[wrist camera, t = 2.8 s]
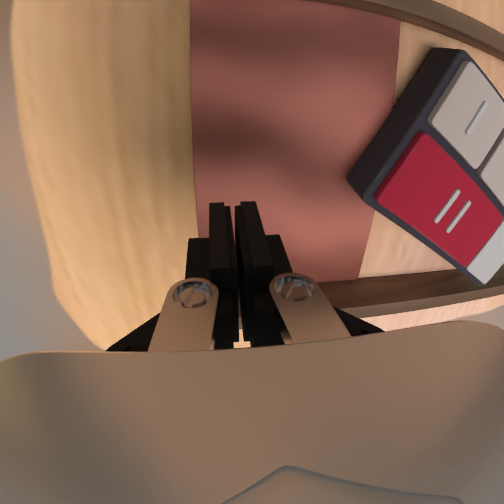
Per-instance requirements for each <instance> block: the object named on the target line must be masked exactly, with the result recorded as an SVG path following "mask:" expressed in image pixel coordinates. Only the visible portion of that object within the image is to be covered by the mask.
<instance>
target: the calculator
mask: <svg viewBox="0 0 504 504" xmlns="http://www.w3.org/2000/svg"><path fill="white" fill-rule="evenodd" d="M347 182H348V183H349V185H350V186H351V187H352V188H353V189H354V191H355V192H356V193H357V194H358V196H359V197H360V198H361V199H362V200H363V201H364V202H365V203H366V204H367V205H369V206H370V207H372V208H373V209H375V210H376V211H378V212H379V213H381V214H382V215H384V216H385V217H387V218H388V219H390V220H391V221H393V222H394V223H396V224H397V225H398V226H400V227H401V228H403V229H404V230H406V231H407V232H408V233H410V234H411V235H413V236H414V237H415V238H417V239H418V240H420V241H421V242H422V243H424V244H425V245H427V246H428V247H429V248H431V249H432V250H433V251H435V252H436V253H437V254H439V255H440V256H441V257H443V258H444V259H445V260H447V261H448V262H449V263H451V264H452V265H453V266H454V267H456V268H457V269H458V270H460V271H461V272H462V273H463V274H465V275H466V276H467V277H468V278H470V279H471V280H472V281H473V282H475V283H476V284H477V285H478V286H483V285H484V284H486V283H487V282H488V281H489V280H490V279H491V278H492V276H493V275H494V274H495V273H496V272H497V270H498V269H499V268H500V267H501V265H502V264H503V263H504V99H503V98H502V96H501V95H500V93H499V92H498V91H497V89H496V88H495V87H494V85H493V84H492V83H491V81H490V80H489V79H488V77H487V76H486V75H485V74H484V72H483V71H482V70H481V69H480V67H479V66H478V65H477V64H476V63H475V61H474V60H473V59H472V58H471V57H470V55H469V54H468V53H467V52H466V51H464V50H460V49H450V48H433V49H432V51H431V52H430V54H429V55H428V57H427V58H426V60H425V62H424V63H423V65H422V66H421V68H420V69H419V71H418V72H417V74H416V75H415V77H414V78H413V80H412V82H411V83H410V85H409V86H408V88H407V89H406V91H405V92H404V94H403V95H402V97H401V98H400V100H399V101H398V103H397V104H396V106H395V107H394V109H393V110H392V112H391V113H390V115H389V116H388V118H387V119H386V120H385V122H384V123H383V125H382V126H381V128H380V129H379V131H378V132H377V134H376V135H375V137H374V138H373V140H372V141H371V142H370V144H369V145H368V147H367V148H366V150H365V151H364V153H363V154H362V155H361V157H360V158H359V160H358V161H357V163H356V164H355V166H354V167H353V168H352V170H351V171H350V173H349V174H348V176H347Z"/></svg>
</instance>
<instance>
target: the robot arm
mask: <svg viewBox="0 0 504 504" xmlns="http://www.w3.org/2000/svg"><path fill="white" fill-rule="evenodd" d="M238 298H239V306H240V314H241V322H242V330H243V338H244V341H250V344H251V347H248V348H234V345H233V342H239V307H238ZM0 504H504V330H503V329H501V328H500V327H497V326H495V325H492V324H488V323H484V322H478V321H447V322H441V323H434V324H428V325H422V326H415V327H410V328H404V329H398V330H392V331H386V332H385V331H383V330H382V329H380V328H378V327H376V326H374V325H372V324H370V323H368V322H366V321H363V320H361V319H359V318H357V317H355V316H353V315H351V314H349V313H347V312H344V311H342V310H340V309H338V308H336V307H334V306H332V305H331V304H330V302H329V301H328V299H327V297H326V296H325V294H324V293H323V291H322V290H321V288H320V287H319V285H318V284H317V283H316V282H315V281H314V279H312V278H310V277H309V276H307V275H304V274H301V273H293V271H292V268H291V265H290V262H289V259H288V256H287V254H286V251H285V248H284V245H283V242H282V240H281V237H280V235H279V234H275V235H265V232H264V228H263V225H262V221H261V218H260V214H259V211H258V208H257V204H256V201H241V202H240V205H238V206H235V241H234V233H233V225H232V217H231V209H230V206H224V202H215V203H209V237H208V238H189V241H188V251H187V262H186V273H185V279H184V280H181V281H179V282H177V283H175V284H174V285H173V286H172V287H171V288H170V289H169V291H168V293H167V296H166V298H165V301H164V304H163V307H162V310H161V312H160V313H159V314H157V315H156V316H154V317H153V318H151V319H150V320H148V321H147V322H146V323H144V324H143V325H141V326H140V327H138V328H137V329H135V330H134V331H132V332H131V333H129V334H128V335H126V336H125V337H124V338H122V339H121V340H119V341H118V342H116V343H115V344H113V345H112V346H110V347H109V348H108V349H107V350H106V351H38V352H37V351H36V352H30V353H24V354H19V355H16V356H12V357H9V358H6V359H3V360H1V361H0Z"/></svg>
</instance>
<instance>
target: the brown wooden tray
mask: <svg viewBox="0 0 504 504" xmlns="http://www.w3.org/2000/svg"><path fill="white" fill-rule="evenodd" d="M400 20H401V21H404V22H408V23H411V24H414V25H417V26H421V27H424V28H427V29H429V30H432V31H435V32H438V33H441V34H443V35H446V36H449V37H451V38H454V39H456V40H459V41H461V42H464V43H466V44H468V45H471V46H473V47H475V48H477V49H480V50H482V51H484V52H486V53H488V54H490V55H492V56H494V57H496V58H498V59H500V60H502V61H504V34H502V33H500V32H498V31H497V30H495V29H493V28H491V27H489V26H487V25H485V24H484V23H482V22H480V21H478V20H476V19H474V18H472V17H470V16H467V15H465V14H463V13H461V12H459V11H457V10H454V9H452V8H450V7H447V6H445V5H443V4H440V3H438V2H435V1H433V0H191V10H190V63H191V107H192V134H193V155H194V174H195V190H196V205H197V219H198V232H199V238H208V237H209V203H215V202H224V206H230V209H231V217H232V225H233V233H234V241H235V206H238V205H240V202H241V201H256V204H257V208H258V211H259V214H260V218H261V221H262V225H263V228H264V232H265V235H275V234H279V235H280V237H281V240H282V242H283V245H284V248H285V251H286V254H287V256H288V259H289V262H290V265H291V268H292V271H293V273H301V274H304V275H307V276H309V277H310V278H312V279H314V281H315V282H316V283H317V284H318V285H319V287H320V288H321V290H322V291H323V293H324V294H325V296H326V297H327V299H328V301H329V302H330V304H331V305H332V306H334V307H336V308H338V309H340V310H342V311H344V312H347V313H349V314H351V315H353V316H355V317H357V318H366V317H374V316H381V315H388V314H395V313H402V312H409V311H415V310H422V309H428V308H434V307H440V306H445V305H451V304H456V303H462V302H467V301H472V300H477V299H482V298H487V297H492V296H496V295H501V294H504V263H503V264H502V265H501V267H500V268H499V269H498V270H497V272H496V273H495V274H494V275H493V276H492V278H491V279H490V280H489V281H488V282H487V283H486V284H484V285H483V286H478V285H477V284H476V283H475V282H473V281H472V280H471V279H470V278H468V277H467V276H466V275H465V274H463V273H462V272H461V271H460V270H458V269H456V270H446V271H436V272H426V273H416V274H405V275H394V276H382V277H370V278H358V275H359V272H360V268H361V264H362V260H363V256H364V253H365V249H366V245H367V240H368V236H369V232H370V228H371V224H372V219H373V215H374V210H375V209H373V208H372V207H370V206H369V205H367V204H366V203H365V202H364V201H363V200H362V199H361V198H360V197H359V196H358V194H357V193H356V192H355V191H354V189H353V188H352V187H351V186H350V185H349V183H348V182H347V176H348V174H349V173H350V171H351V170H352V168H353V167H354V166H355V164H356V163H357V161H358V160H359V158H360V157H361V155H362V154H363V153H364V151H365V150H366V148H367V147H368V145H369V144H370V142H371V141H372V140H373V138H374V137H375V135H376V134H377V132H378V131H379V129H380V128H381V126H382V125H383V123H384V122H385V120H386V119H387V118H388V116H389V115H390V113H391V112H392V107H393V99H394V91H395V82H396V72H397V61H398V48H399V33H400ZM238 307H239V329H242V322H241V314H240V306H239V298H238Z"/></svg>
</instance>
